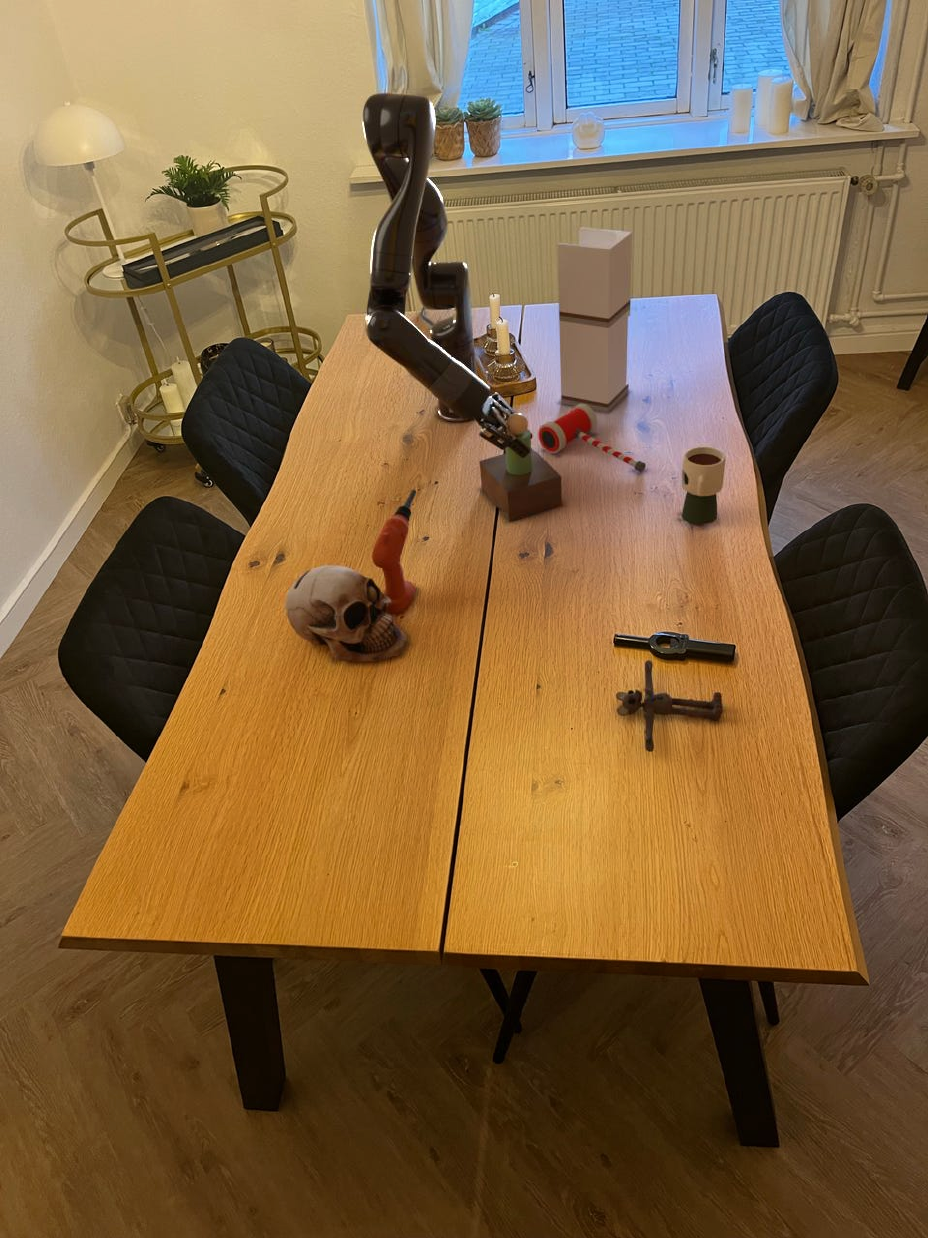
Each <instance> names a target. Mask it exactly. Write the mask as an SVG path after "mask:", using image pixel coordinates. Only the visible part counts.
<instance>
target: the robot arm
mask: <svg viewBox="0 0 928 1238" xmlns="http://www.w3.org/2000/svg"><path fill="white" fill-rule="evenodd" d="M433 105H434V104H433V103H432V100H430V98H428V97H426V96H424V95H417V94H405V93H404V94H402V93H391V92H380V93H373V94H372V95H370V96H369V97H368V98H367V100H365V103H364V105H363V109H362V129H363V135H364V139H365V142H366V143H365V144H366V146H367V148H368V151H369V154H370V156H371V158H372V160H373V162H374V164H375V166H376V169H377V171H378V173H379V175H380V177H381V179H382V181H383V184H384V187H385V190H386V192H387V194H388V198H389V200H390V205H389V206H388V208H387V209H386V211H385V212H384V214H383V215H382V217H381V218H380V220H379V222H378V224H377V226H376V228H375V231H374V232H373V236H372V237H373V238H372V244H371V253H370V264H369V265H370V267H369V268H370V269H369V290H368V291H369V292H368V296H367V302H366V303H367V304H366V310H365V320H364V331H365V334H366V337H367V339H368V340H369V342H370V343H371V344H372V345H373V346H375V347H376V348H377V349H379V350H380V352H382V353H384V354H385V355H387V356H388V357H389V358H390V359H392V360H393V361H395V362H396V363H397V364H399V365H400V366H401V367H403V368H404V369H405V370H406V371H407V373H408V374H409V375H410V376H412V377H413V378H414V379H415V380H416V381H418V382H419V383H420V385H422V386H424V388H425V389H427V390H428V391H429V392H430V393H431V394H432V395H433V396H434V397H435V398H436V399H437V406H438V416H439V417H440V418H441V419H442V420H444V421H447V422H453V423H454V422H455V423H458V422H465V421H469V420H472V419H474V421H475V422H476V424H478V425H479V427H481V430H480V431H479V432H478V435H479V437H480V438H482V439H483V440H486V441H487V442H488V443H490V444H492V445H493V446H495V447H496V448H498V449H500V450H501V451H504V450H505V448H506V447H509V448H511V449H512V450H513V451H514V452H515V453H517V454H518V455H519V456H520V457H521V458H525V457H526V456H527V455H528V454H529V453H530V448H529V447H528V446H527V445H526V444H524V443H523V442H522V441H521V440H520V439H518V438H517V437H515V435H514V434H513V433H512V432H511V431H510V430H509V425H508V424H507V423H506V421H507V419H508V417H509V416H510V415H512V414H514V413H517V411H515V409H513V407H511V405H510V404H509V403H508V402H507V401H506V400H505V399H504V398H503V397H502V396H501V395H500V394H499V393H498V392H497V391H496V392H494V393H493V394H492V395H490V394H491V387H490V386H489V385H488V384H487V383H486V382H484V381H483V379H481V378H480V377H478V373H477V362H476V360H477V359H476V352H475V351H476V350H475V340H474V339H475V337H474V328H473V327H474V326H473V315H472V312H473V311H472V292H471V290H472V285H471V273H470V270H469V267H468V265H467V264H466V263H465V262H464V261H443V262H431V261H432V259H433V257H434V255H435V254H436V253H437V252H438V250H439V249H440V247H441V245H442V244H443V242H444V240H445V238H446V235H447V233H448V228H449V221H448V215H447V211H446V208H445V203H444V200H443V196H442V194H441V192H440V191H439V189H438V188H437V186H436V185H435V184H434V183H433V181H432V180H431V179H430V178H428V174H429V170H430V166H431V165H430V164H431V161H432V154H433V149H434V144H435V136H436V112H435V109H434V106H433ZM412 275H413V276H412ZM412 277H413V280H414V284H415V289H416V294H417V297H418V301H419V302H420V305H421V306H422V308H421V310H420V317H421V319H422V320H423V321H425V323H428V325H430V329H429V338H428V337H427V336H426V335H425V334H423V332H422V331H421V330H420V329H418V328H417V326H416V325H415V324H414V323H412V322H411V321H410V320H409V319H408V318H407V317H406V306H407V294H408V291H409V288H410V286H411V279H412ZM426 310H429V311H453V310H454V313H453V314H451V315H450V316H448V317H446V318H444V319H441V320H439V321H437V322H434V321H432V320H431V319H429V318H428V317H426V316H425V312H426ZM505 433H506V434H507V435H506V434H505ZM532 439H533V433H532V432H531V440H532Z"/></svg>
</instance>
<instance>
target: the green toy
mask: <svg viewBox="0 0 928 1238" xmlns="http://www.w3.org/2000/svg"><path fill="white" fill-rule="evenodd" d="M506 423H507V424H508V425H509V430H510V431H511V432H512V433H513V434H514V435H515V437H517V438H518V439H520V440H521V441H522V442H523V443H524V444H526V445H527V446H528V447H529V448H530V453H529V454H528V455H527V456H526V457H525V458H521V457H520V456H519V455H518V454H517V453H515V452H514V451H513V450H512V449H511V448H509V447H506V448H505V449H504V450H505V453H506V464H507V471H508V472H509V473H511V474H513V475H523V474H527V473H529V472H530V471H531V470H532V453H531V447H532V439H531V433H532V432H531V430H530V429H529V428H528V426H529V421H528V419H527V417H526V416H525V415H524V414H523V413H519V412H516V413H514V414H512V415H510V416H509V417H508V419H507V421H506ZM504 434H506V433H505V432H504ZM506 435H507V434H506Z"/></svg>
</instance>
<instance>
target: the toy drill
mask: <svg viewBox="0 0 928 1238" xmlns="http://www.w3.org/2000/svg"><path fill="white" fill-rule="evenodd" d="M416 495H417V490H416V489H411V491H410V492H409V495H408V497H407V498H406V500H405V502H404V504H403V505H400V506H398V507H397V509H396V511H395V512H394V514H392V515H391V516H390V518H388V519H386V521H385V523H384V525H383V526H382V528H381V530H380V532H379V534H378V536H377V537H376V540H375V542H374V546H373V547H372V552H371V553H372V554H371V559H372V563H373V565H375V567H377V568H380V569H381V570H382V574H383V577H384V583H385V584H384V585H385V586H384V587H385V591H384V592H383V594H385V595H386V596H387V597H389V598H390V600H391V605H390V606H388V607H387V609H386V613H387V614H399V613H402V612H404V611H405V610H407V608H408V607H409V606H410V605H411V603H412V601H413V600H414V598H415V594H416V587H415V585H414V583H413V582H411V581H408V580H405V574H404V570H403V566H402V564H401V557H402V555H403V551H404V548H405V543H406V540H407V537H408V534H409V526H410V523H409V522H410V518H411V516H412V510H411V506H412V503H413V501H414V500H415V496H416Z"/></svg>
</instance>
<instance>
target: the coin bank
mask: <svg viewBox="0 0 928 1238" xmlns="http://www.w3.org/2000/svg"><path fill="white" fill-rule="evenodd" d="M390 605H391V600H390V598H389V597H387V596H386V595H385V594H384V592H383V591H381V589H380V587H379V586H378V585H377V584H376V582H375V581H374V580H373V578H372V577H366V576H365V575H363V574H362V573H360V572H358V571H357V570H355V569H353V568H351V567H348V566H344V565H337V564H336V565H335V564H330V565H329V564H327V565H326V564H325V565H321V566H316V567H313V568H310V569H308V570H307V571H305V572H303V573H302V574H301V575H299V577H297V579H296V580H295V581H294V582H293V583H292V584H291V586H290V588H289V589H288V592H287V593H286V597H285V611H286V615H287V619H288V621H289V624H290V626H291V627H292V629H293V631H294V632H295V633H296V634H297V635H298V636H299V637H300V638H302V639H304V640H306V641H308V642H309V643H311V644H312V645H314V646H325V647H328V648H329V650H330V652H331V654H332V656H333V658H334V659H335V660H337V661H344V662H345V661H347V662H353V663H354V662H355V663H359V662H361V663H362V662H363V663H367V662H374V663H377V662H381V661H385V660H387V659H391V658H392V657H397V656H399V655H401V654H402V653H403V651H404V649H405V648H406V647H407V645H408V639H407V638H408V637H407V636H406V634H405V633H404V631H402V629H401V628H400V627H399V626H398V625H397V623H396V621H395V619H394V618H393V616H392V615H391V614H389V613H388V612H386V609H387V607H388V606H390Z"/></svg>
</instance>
